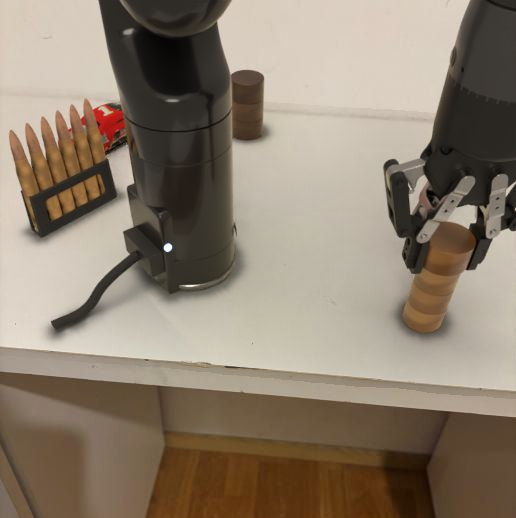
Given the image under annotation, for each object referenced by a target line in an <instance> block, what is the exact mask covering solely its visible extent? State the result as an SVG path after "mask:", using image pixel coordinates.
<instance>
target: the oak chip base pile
mask: <svg viewBox="0 0 516 518" xmlns="http://www.w3.org/2000/svg"><path fill="white" fill-rule="evenodd" d="M460 276H461V274H459V275H455V276H440V275H436V274H433V273H431V272H429V271H427V270H426V269H424V268H422V272H421V273H420V274H413V278H412V282H411V284H410V288H409V292H408V295H407V298H406V301H405V305H404V308H403V311H402V320H403V322H404V324H405V325H406V326H407V327H408V328H410V329H411V330H412V331H415V332H418V333H424V334H426V333H427V334H428V333H433V332H435V331H437V330H438V329H440V328H441V326H442V324H443V321H444V318H445V315H446V313H447V311H448V308H449V305H450V302H451V300H452V297H453V294H454V292H455V289H456V287H457V284H458V283H459V282H458V281H459V279H460Z"/></svg>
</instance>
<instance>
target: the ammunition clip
mask: <svg viewBox="0 0 516 518" xmlns="http://www.w3.org/2000/svg"><path fill="white" fill-rule="evenodd" d="M93 109H94V108H93V106H92V105H91V102H90V101H89V100H88V98H87V97H85V98H84V99H83V106H82V110H83V111H82V112H83V116H84V120H85V127H86V136H85V132H84V129H83V126H82V122H81V116H80V113H79V111H78V110H77V108H76V106H75V105H74V104H73V103H71V104H70V106H69V123H70V128H72V135H73V143H72V140H71V137H70V135H69V131H68V129H69V128H68V125H67V122H66V120H65V118H64V116H63V113H61V111H60V110H59V109H57V110H56V111H55V116H54V117H55V119H54V121H55V130H56V135H57V141H58V140H59V147H60V151H59V148H58V142H57V141H56V137H55V134H54V132H53V129H52V127H51V125H50V123H49V121H48V120H47V118H45V116H41V118H40V132H41V139H42V141H43V147H44V152H45V154H44V152H43V149H42V148H41V144H40V141H39V139H38V137H37V135H36V134H37V133H36V132H35V130H34V129H33V127H32V126H31V125H30V123H29V122H26V123H25V127H24V134H25V142H26V145H27V150H28V154H29V159H30V162H29V159H28V157H27V154H26V152H25V149H24V147H23V146H24V145H23V144H22V141H21V140H20V138H19V137H18V134H17V133H16V132H14V130H13V129H9V133H8V140H9V141H8V143H9V147H10V151H11V155H12V158H13V162H14V166H15V168H14V169H15V173H16V177H17V180H18V183H19V185H20V186H19V187H20V189H21V190H20V194H21V197H22V198H21V199H22V201H23V204H24V208H25V212H26V215H27V218H28V221H29V225H30V229H31V231H32V232H33V233H35V234H36V235H38V236H39V237H40V238H45V237H46V236H48V235H49V234H52V233H53V232H55V231H57V230H58V229H61V228H62V227H65V226H66V225H68V224H70V223H72V222H73V221H75V220H77V219H79V218H81V217H83V216H85V215H87V214H89V213H90V212H92V211H93V210H96V209H97V208H99V207H101V206H103V205H105V204H107V203H108V202H110V201H112V200H115V199H116V198H117V197H118V193H117V189H116V185H115V181H114V177H113V176H114V175H113V172H112V168H111V165H110V161H109V158H107V157H106V152H105V151H104V147H103V142H102V137H101V134H100V132H99V130H98V126H97V123H96V118H95V115H94V112H93Z"/></svg>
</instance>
